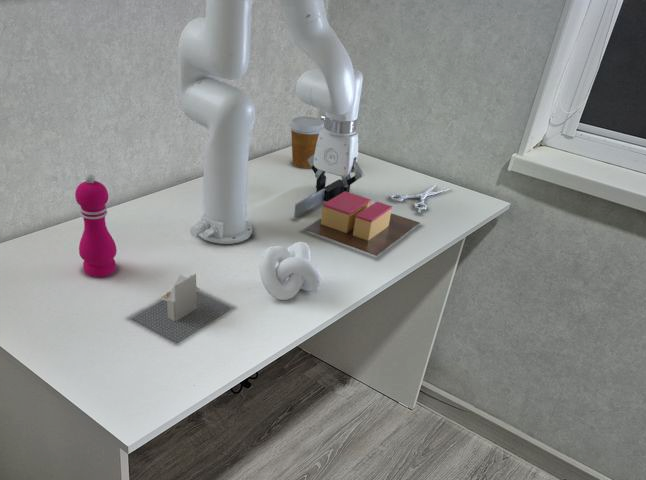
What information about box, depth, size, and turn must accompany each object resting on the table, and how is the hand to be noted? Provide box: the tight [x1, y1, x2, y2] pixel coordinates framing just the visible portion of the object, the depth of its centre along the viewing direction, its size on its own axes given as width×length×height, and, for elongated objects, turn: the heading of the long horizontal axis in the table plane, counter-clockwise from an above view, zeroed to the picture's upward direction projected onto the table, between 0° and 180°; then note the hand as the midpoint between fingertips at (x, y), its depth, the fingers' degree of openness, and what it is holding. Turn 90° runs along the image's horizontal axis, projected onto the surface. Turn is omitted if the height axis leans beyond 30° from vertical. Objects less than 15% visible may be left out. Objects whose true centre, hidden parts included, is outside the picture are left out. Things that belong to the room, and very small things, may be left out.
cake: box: [320, 191, 372, 233], centre depth 150 cm, size 10×7×5 cm
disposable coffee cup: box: [289, 116, 324, 169], centre depth 179 cm, size 10×10×12 cm
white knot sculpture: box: [259, 241, 322, 301], centre depth 124 cm, size 11×12×9 cm
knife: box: [293, 178, 343, 218], centre depth 159 cm, size 22×2×4 cm, turn 143°
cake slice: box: [353, 201, 393, 241], centre depth 147 cm, size 10×4×5 cm, turn 143°
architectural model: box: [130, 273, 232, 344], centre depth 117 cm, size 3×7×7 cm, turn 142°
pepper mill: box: [74, 173, 117, 278], centre depth 124 cm, size 7×7×20 cm
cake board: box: [303, 212, 421, 257], centre depth 151 cm, size 22×19×1 cm
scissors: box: [389, 184, 450, 213], centre depth 167 cm, size 11×1×20 cm
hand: (331, 195), depth 164 cm, fingers open, 6 cm apart
